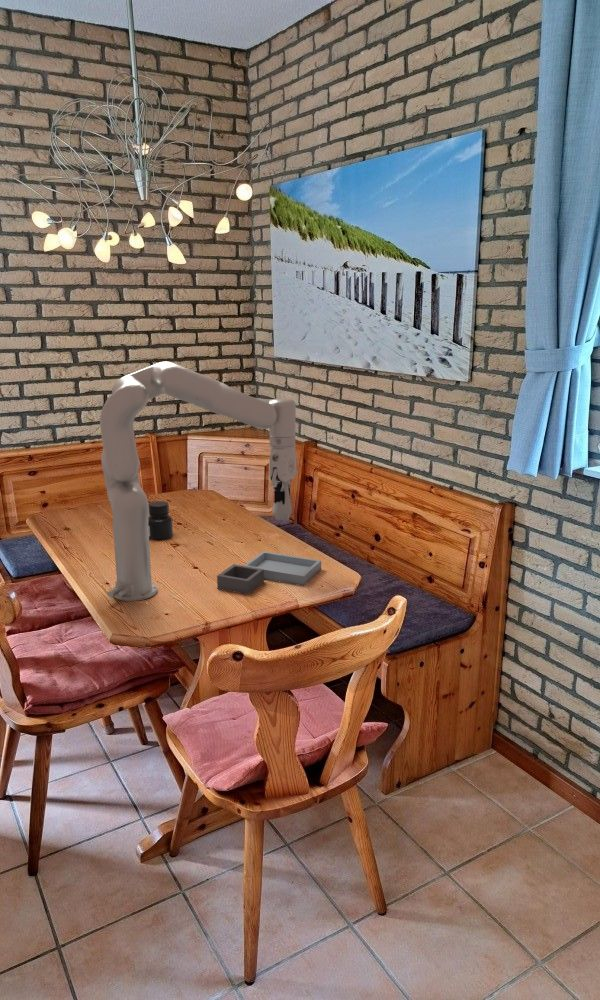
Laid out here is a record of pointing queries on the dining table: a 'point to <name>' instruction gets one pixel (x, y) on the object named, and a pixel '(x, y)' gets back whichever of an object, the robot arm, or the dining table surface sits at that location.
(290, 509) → the salt shaker
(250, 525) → the dining table surface
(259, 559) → the tray
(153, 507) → the ink bottle
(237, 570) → the holder
